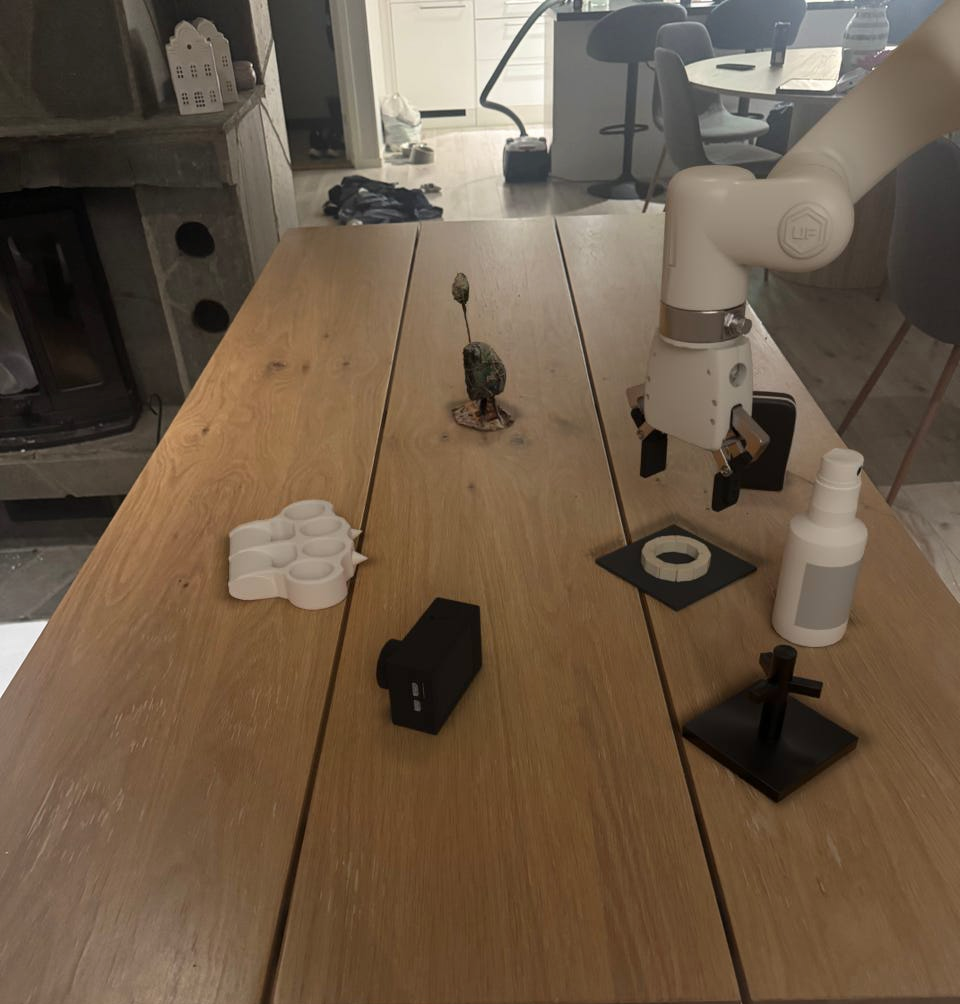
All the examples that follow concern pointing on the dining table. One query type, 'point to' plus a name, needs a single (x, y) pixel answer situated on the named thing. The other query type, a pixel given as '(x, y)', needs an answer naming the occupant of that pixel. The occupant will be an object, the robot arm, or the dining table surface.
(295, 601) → the white brass knuckles
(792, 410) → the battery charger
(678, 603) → the mat
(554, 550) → the dining table surface
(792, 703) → the rack
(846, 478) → the spray bottle
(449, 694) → the digital camera
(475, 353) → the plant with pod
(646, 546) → the ring
